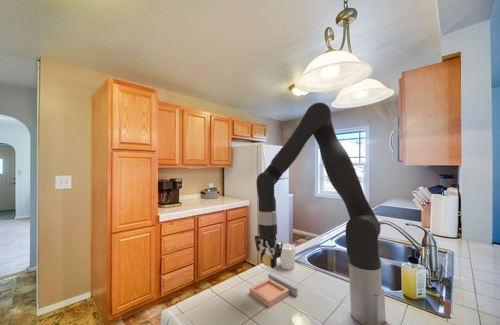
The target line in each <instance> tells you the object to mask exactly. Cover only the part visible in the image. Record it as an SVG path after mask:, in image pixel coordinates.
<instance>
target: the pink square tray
mask: <svg viewBox="0 0 500 325" xmlns="http://www.w3.org/2000/svg"><path fill="white" fill-rule="evenodd" d="M249 295H251V296H252V297H254V298H255V299H256V300H258V301H259V302H261V303H262V304H264V306H265V305H266V306H267V307H268V308H270V307H272V306H274V305H275V304H276V303H278V302H280V301H282V300H283V299H285V298H287V297H288V296H290V293H289V289H287V288H285V287H284V286H282V285H280V284H278V283H276V282H275V281H273V280H271V279H268V278H266V279H265V280H264V281H262V282H259V283H257V284H255V285H253V286H252V287H249Z"/></svg>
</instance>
